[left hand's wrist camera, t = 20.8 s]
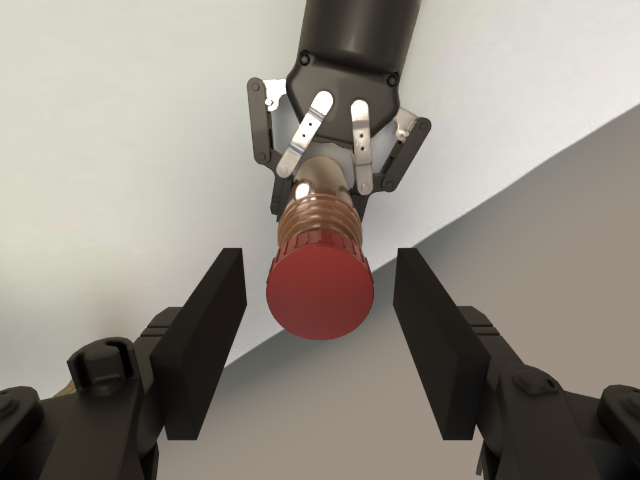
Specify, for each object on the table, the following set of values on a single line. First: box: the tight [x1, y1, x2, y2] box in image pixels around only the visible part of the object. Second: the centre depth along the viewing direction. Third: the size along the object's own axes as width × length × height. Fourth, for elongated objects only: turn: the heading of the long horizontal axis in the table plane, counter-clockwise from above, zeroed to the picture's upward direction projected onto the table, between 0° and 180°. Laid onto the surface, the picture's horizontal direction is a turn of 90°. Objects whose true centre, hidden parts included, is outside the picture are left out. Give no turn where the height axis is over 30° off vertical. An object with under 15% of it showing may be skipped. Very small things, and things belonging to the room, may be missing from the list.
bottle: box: [278, 156, 362, 249], centre depth 24 cm, size 5×5×22 cm
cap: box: [266, 229, 374, 340], centre depth 14 cm, size 4×4×2 cm
